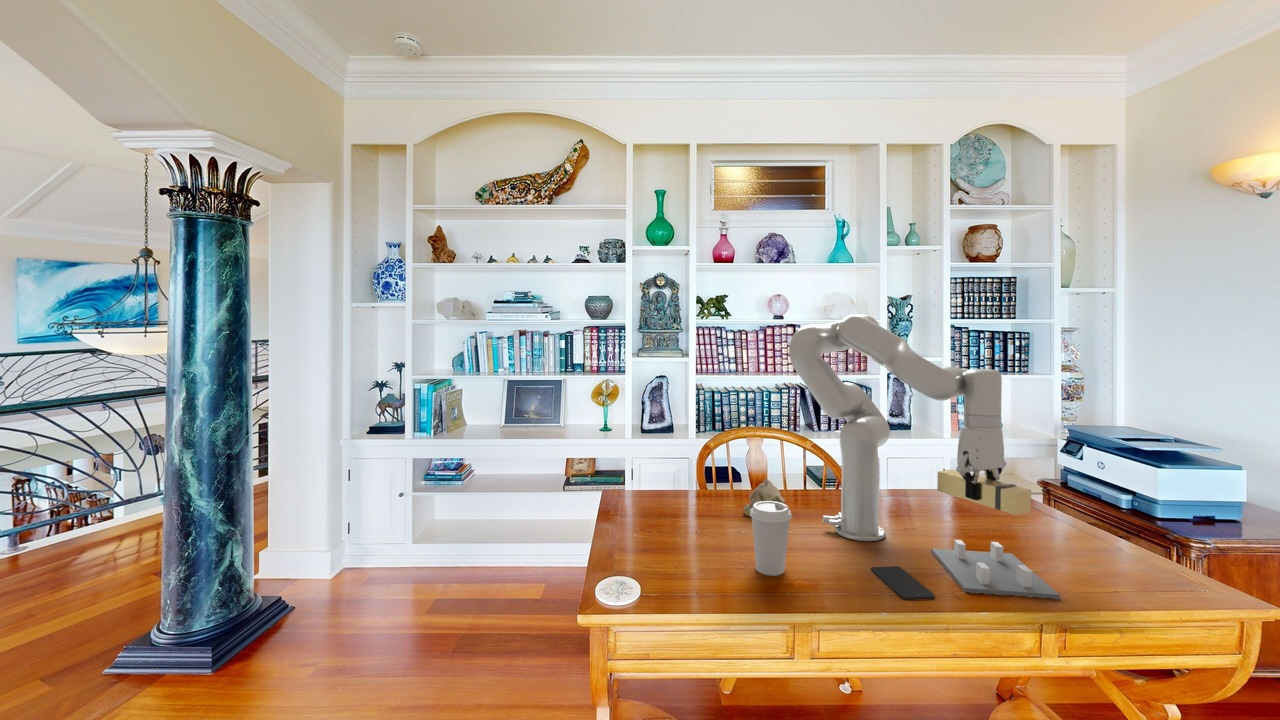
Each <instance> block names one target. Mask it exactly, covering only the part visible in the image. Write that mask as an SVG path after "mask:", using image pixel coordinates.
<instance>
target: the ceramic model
mask: <svg viewBox="0 0 1280 720" xmlns="http://www.w3.org/2000/svg"><path fill="white" fill-rule="evenodd" d="M748 500H749V501H750V503H748V504H746V505H745V506H743V512H744V514H745V516H749V517H751V516H750V511H751V509H752V508H753V505H754V504H755V503H757V502H760V501H775V502H780V503H783V504H786V503H785V502H786V501H785V499H784V498H783V496H782V493H781V491H780V490H779V489H778V488H777V487H776V486H775V485H774V484H773V483H772V480H770V479H767V478H763V481H762V483H760V484H758V486H757V487H756V488H755V489H754V490H752V492H751V493H750V495H749V496H748Z"/></svg>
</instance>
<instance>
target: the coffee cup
mask: <svg viewBox="0 0 1280 720" xmlns="http://www.w3.org/2000/svg"><path fill="white" fill-rule="evenodd" d="M749 517H751V525H752V536H753V547H754V561H755V570H756V571H757V572H758V573H760V574H762V575H765V576H769V577H770V576H775V577H776V576H781V575H783V574H784V573H785V571H786V559H787V550H788V540H789V539H788V538H789V530H790V529H789V528H790V520H792V519H793V516H792V512H791V510H790V509H789V506H788V505H787V504H786V503H784V504H783V503H780V502H775V501H760V502H757V503H755V504H754V505H753V508H752V509H751V511H750V516H749Z"/></svg>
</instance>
